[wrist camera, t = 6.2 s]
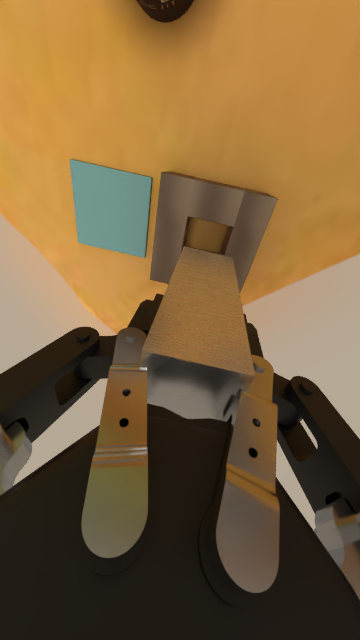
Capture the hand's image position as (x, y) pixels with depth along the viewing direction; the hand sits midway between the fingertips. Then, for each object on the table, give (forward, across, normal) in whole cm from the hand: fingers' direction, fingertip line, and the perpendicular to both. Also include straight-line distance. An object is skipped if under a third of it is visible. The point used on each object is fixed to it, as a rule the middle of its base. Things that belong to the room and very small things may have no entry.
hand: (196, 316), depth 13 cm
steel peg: (+6, 0, 0) cm, 6 cm away
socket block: (+20, 0, 0) cm, 20 cm away
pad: (+20, +13, 0) cm, 24 cm away
